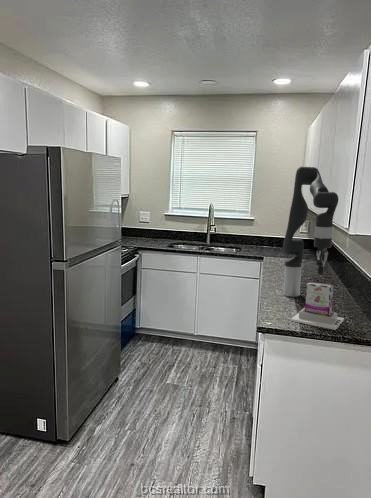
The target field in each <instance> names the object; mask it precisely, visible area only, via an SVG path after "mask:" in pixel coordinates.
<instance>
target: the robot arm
mask: <svg viewBox="0 0 371 498" xmlns="http://www.w3.org/2000/svg"><path fill="white" fill-rule="evenodd" d="M302 186H309V191H310V192H309V193H310V194H311V196H312V198H313V199H312V203H313V206H314V207H315V208H318V209H326V211H324V212H322V213H317V214H316V217H315V229H314V238H313V247H314V248H317V250H316V255H315V263H316V266H317V267H318V268H317V274H318V275H324V274H325V273H324V272H325V266H326V264H327V261H328V256H329V251H328V250H327V249H330V248H332V245H333V243H332V242H333V220H334V219H333V218H334V215H335V211H336V209H337V206H338V203H339V195H338V193H336V192H333V191H329V189H328V188H327V186H326V184H324V182H323V180H322V176H321V173H320V171H319V169H318V168H317V167H315V166H298V168H297V169H296V172H295V179H294V187H293V194H292V200H291V205H290V210H289V216H288V223H287V227H286V228H287V229H286V232H285V235H284V239H283V244H282V251H283V253H284V254H285V255H294V256H293V257H291V258H288V259H286V260H285V261H284V276H283V277H284V278H283V292H282V293H283V295H284V296H287V297H290V298H291V297H292V298H293V297H294V298H295V297H297V298H298V297H300V295H301V294H300V292H301V280H302V278H301V277H302V263H303V254H304V240H303V239H302V238H297V237H295V238H294V236H295V234H296V232H297V231H299V229H300V228H301V227H302V226H303V225H304V224H305V222H306V221H307V217H308V212H309V206H308V204H307V201H306V199H305V197H304V195H303V192H302Z"/></svg>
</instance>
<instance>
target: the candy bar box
mask: <svg viewBox="0 0 371 498" xmlns="http://www.w3.org/2000/svg"><path fill="white" fill-rule="evenodd" d="M333 292H334V284H328V283H320V282H313V281H309V282H307V283H306V286H305V304H304V307H305V312H307V313H312V314H317V315H323V316H328V317H331V314H332V312H333V298H334V297H333V294H334V293H333Z"/></svg>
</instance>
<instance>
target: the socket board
mask: <svg viewBox="0 0 371 498" xmlns="http://www.w3.org/2000/svg"><path fill="white" fill-rule="evenodd" d="M344 321H345V318H344V317H341V316H338V312H335V311H332V314H331V317H328V316H323V315H317V314H312V313H307V312H305V306H304V307H303V308H301V310H299V312H298V313H297V314H295V315H294V316H293V317H291V318H290V322H295V323H298V324H299V323H300V324H304V325H309V326H314V327H317V328H318V327H319V328H322V329H328V330H334V331H337V330H336V329H339V327H340V326H341V325H342V323H343V322H344ZM340 324H341V325H340Z"/></svg>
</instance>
